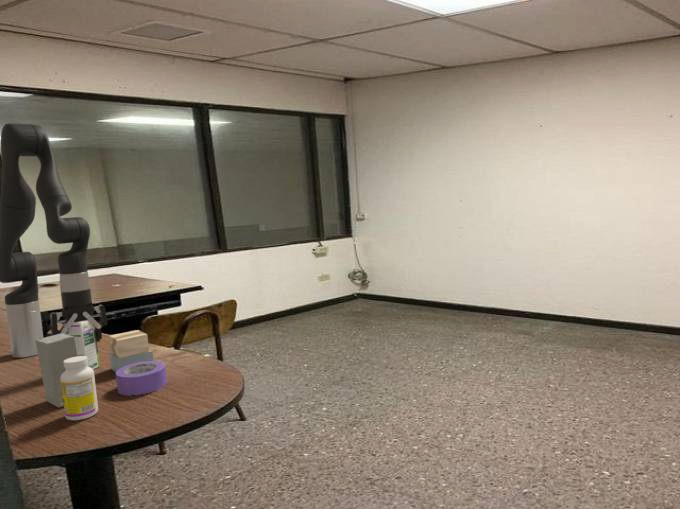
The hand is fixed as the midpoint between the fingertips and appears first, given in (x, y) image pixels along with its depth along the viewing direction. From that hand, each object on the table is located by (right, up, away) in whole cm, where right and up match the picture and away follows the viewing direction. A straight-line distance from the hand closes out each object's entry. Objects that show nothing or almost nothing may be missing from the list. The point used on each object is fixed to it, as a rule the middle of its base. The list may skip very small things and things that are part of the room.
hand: (82, 344), depth 147 cm
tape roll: (+24, -8, -16) cm, 30 cm away
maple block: (+14, -2, -1) cm, 14 cm away
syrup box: (0, -7, +1) cm, 8 cm away
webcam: (-33, -5, +40) cm, 53 cm away
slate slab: (+15, -7, 0) cm, 16 cm away
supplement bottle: (+16, -10, -32) cm, 38 cm away
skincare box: (+7, -10, -23) cm, 26 cm away
